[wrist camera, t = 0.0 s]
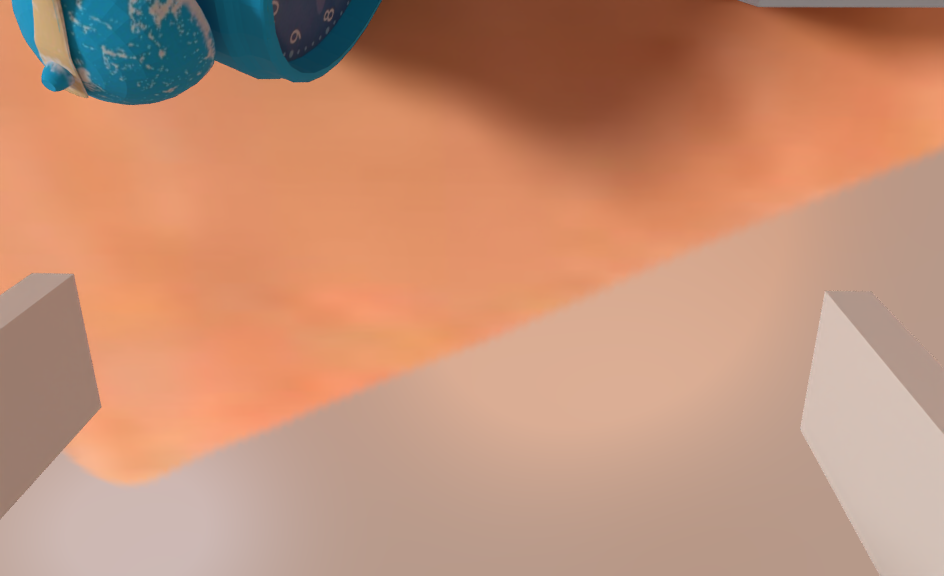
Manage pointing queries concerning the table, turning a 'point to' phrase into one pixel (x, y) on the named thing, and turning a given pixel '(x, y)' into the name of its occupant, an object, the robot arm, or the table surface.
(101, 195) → the table surface
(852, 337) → the robot arm
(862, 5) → the gauge board
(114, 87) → the alarm clock
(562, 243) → the table surface
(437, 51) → the table surface
